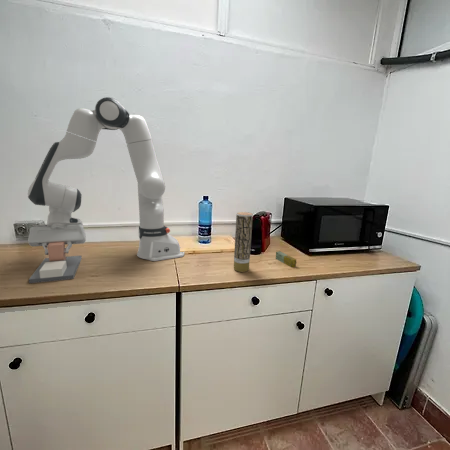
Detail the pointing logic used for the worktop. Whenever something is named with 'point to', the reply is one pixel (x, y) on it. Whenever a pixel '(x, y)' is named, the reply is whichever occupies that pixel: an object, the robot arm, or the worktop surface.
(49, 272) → the stand
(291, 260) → the medication box
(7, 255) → the worktop surface
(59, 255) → the salmon pink rectangular block
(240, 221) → the paper tube
